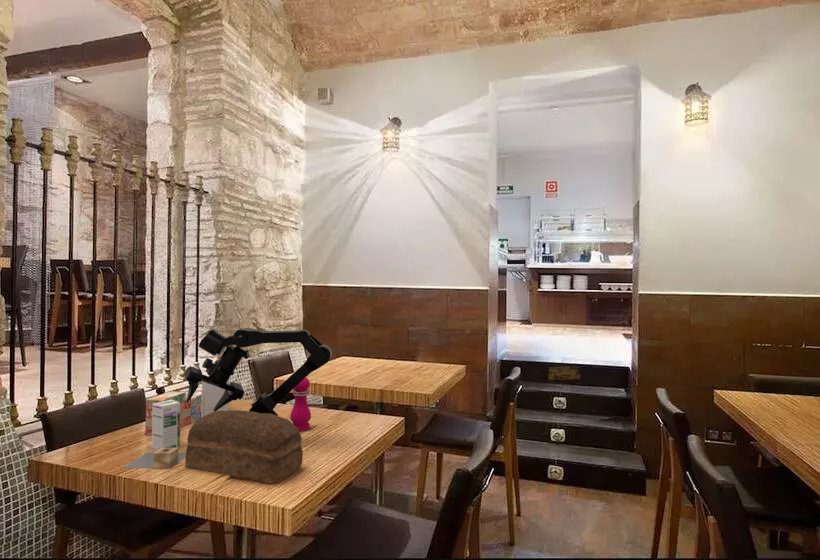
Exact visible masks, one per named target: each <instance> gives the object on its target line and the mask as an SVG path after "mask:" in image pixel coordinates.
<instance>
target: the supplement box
mask: <svg viewBox="0 0 820 560" xmlns="http://www.w3.org/2000/svg"><path fill="white" fill-rule="evenodd" d="M204 375H205V376H208V377H209V375H208V374H204ZM227 384H230V379H229V380H228V381H227ZM224 392H225V389H222V388H219V387H217V386H214V385H211V384H208V383H206V382H203V381H201V415H202V417H204V416H206V415H208V414H209V413H212V412H214V408H215V406H216V404H217V403H218V402H219V400H220V399H221V397H222V396H223V394H224ZM222 410H223V411H229V403H227V404H226V405H224V406H223V407H221V408H220V409H218V410H217V411H222Z"/></svg>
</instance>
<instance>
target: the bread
mask: <svg viewBox="0 0 820 560" xmlns="http://www.w3.org/2000/svg"><path fill="white" fill-rule="evenodd" d="M302 439H303V438H302V434H301V431H299V430H298V428H297V427H296V426H295V425H294V424H293V422H292V421H291V420H290V419H287V418H284V417H282V416H279V415H278V416H277V415H274V414H271V413H263V414H261V413H258V412H251V411H249V410H238V409H237V410H233V409H232V410H228V411H223V410H222V411H215V412H212V413H209V414H208V415H206V416H201V418H199V419H198V420H197V421H195V422H193V423H192V426H191V427H190V429H189V430H188V435H187V446H186V449H185V453H186V457H185V467H186V468H189V469H195V470H199V471H203V472H205V471H206V472H211V473H214V474H215V473H216V474H220V475H221V474H222V475H228V476H229V477H231V478H232V477H234V478H238V479H244V480H251V481H257V482H264V483H267V484H277V483H278V482H280V481H283V480H285V479H287V478H288V477H289V476H290V475H292V474H294V473H295V472H297V470H299V469H300V467H301V465H303V459H304V458H303V457H304V456H303V454H304V453H303V448H302Z"/></svg>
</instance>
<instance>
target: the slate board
mask: <svg viewBox="0 0 820 560" xmlns="http://www.w3.org/2000/svg"><path fill="white" fill-rule="evenodd" d="M153 453H154V452H146V453H144V454H142V455H141V456H139V457H137V458H136V459H134V460H132V461H131V462H129V463H127V464H126V465H124V466H123V467H122V469H154V468H153ZM184 459H186V452H178V463H176V464H175V465H174V466H172V467H171V468H157V469H159V470H160V469H161V470H162V469H167V470H168V469H169V470H171V469H173V468H174V467H175V466H176V465H178V464H179V463H180V462H182V461H183V460H184Z"/></svg>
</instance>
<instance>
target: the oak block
mask: <svg viewBox="0 0 820 560" xmlns="http://www.w3.org/2000/svg"><path fill="white" fill-rule="evenodd" d="M152 453H153V468H152V469H158V468H171V467H172V466H173V467H175V466H176V465H177V464H179V463H178V453H179V447H176V448H161V449H159V450H156V451H155V452H152ZM176 463H177V464H176ZM175 464H176V465H175ZM174 465H175V466H174ZM173 467H172V468H173ZM172 468H171V469H172Z"/></svg>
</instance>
